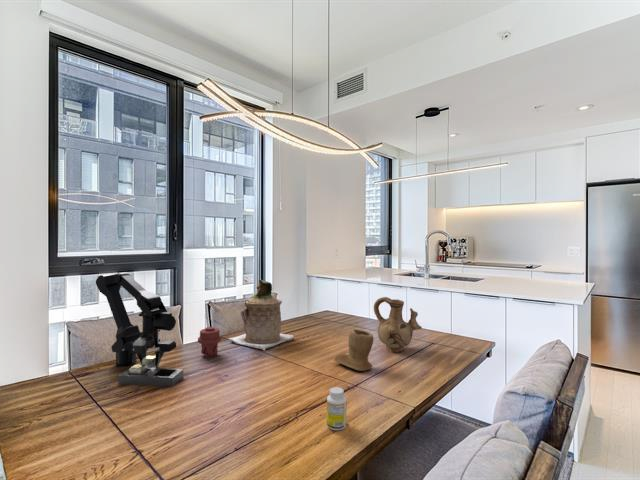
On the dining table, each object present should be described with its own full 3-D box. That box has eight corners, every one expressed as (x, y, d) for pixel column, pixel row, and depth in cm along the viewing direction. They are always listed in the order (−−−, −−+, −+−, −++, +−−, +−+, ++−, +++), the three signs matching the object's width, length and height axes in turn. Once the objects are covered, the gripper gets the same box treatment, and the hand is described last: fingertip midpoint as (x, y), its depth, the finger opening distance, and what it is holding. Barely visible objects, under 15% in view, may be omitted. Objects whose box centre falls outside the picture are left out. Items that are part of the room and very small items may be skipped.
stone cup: (379, 368, 141) (379, 331, 140) (359, 375, 133) (359, 337, 133) (352, 358, 152) (353, 324, 152) (332, 364, 144) (333, 328, 144)
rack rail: (118, 385, 122) (118, 375, 122) (132, 376, 130) (132, 367, 130) (172, 387, 120) (172, 377, 120) (183, 378, 128) (183, 369, 128)
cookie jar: (295, 339, 180) (296, 278, 179) (264, 352, 159) (264, 283, 159) (260, 331, 193) (260, 274, 193) (226, 342, 172) (227, 279, 172)
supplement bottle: (334, 418, 101) (335, 384, 101) (350, 425, 97) (350, 389, 97) (322, 426, 97) (323, 390, 97) (338, 433, 93) (338, 396, 93)
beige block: (129, 382, 123) (129, 368, 123) (136, 377, 128) (136, 363, 127) (140, 382, 123) (140, 368, 123) (147, 377, 127) (147, 364, 127)
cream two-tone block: (142, 371, 134) (142, 358, 134) (148, 367, 139) (148, 355, 139) (152, 371, 134) (152, 359, 134) (158, 367, 138) (158, 355, 138)
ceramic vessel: (392, 358, 152) (393, 302, 151) (366, 346, 168) (367, 295, 168) (422, 352, 160) (423, 299, 160) (394, 341, 177) (395, 293, 177)
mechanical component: (225, 352, 157) (214, 360, 147) (205, 351, 159) (193, 358, 149) (225, 325, 157) (214, 331, 147) (205, 324, 159) (193, 330, 149)
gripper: (114, 332, 129) (114, 374, 129) (162, 334, 128) (162, 376, 128) (132, 325, 140) (132, 363, 140) (177, 326, 139) (176, 364, 139)
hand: (150, 366), depth 136 cm, fingers open, 5 cm apart
